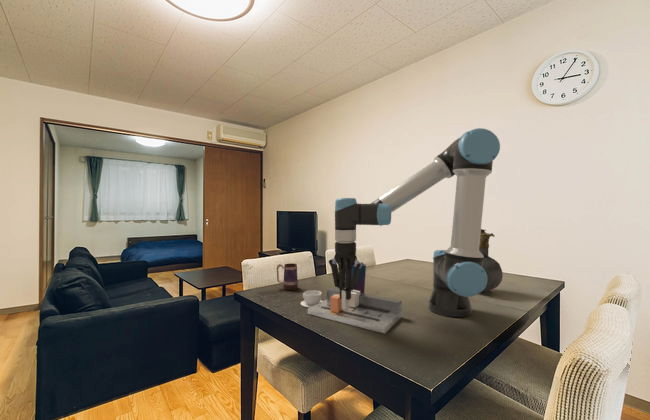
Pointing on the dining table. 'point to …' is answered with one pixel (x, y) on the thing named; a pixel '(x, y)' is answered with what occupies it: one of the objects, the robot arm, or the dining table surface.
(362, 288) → the cup
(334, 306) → the block
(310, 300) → the teacup
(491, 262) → the pitcher
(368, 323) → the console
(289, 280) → the mug
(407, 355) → the dining table surface
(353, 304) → the fader
